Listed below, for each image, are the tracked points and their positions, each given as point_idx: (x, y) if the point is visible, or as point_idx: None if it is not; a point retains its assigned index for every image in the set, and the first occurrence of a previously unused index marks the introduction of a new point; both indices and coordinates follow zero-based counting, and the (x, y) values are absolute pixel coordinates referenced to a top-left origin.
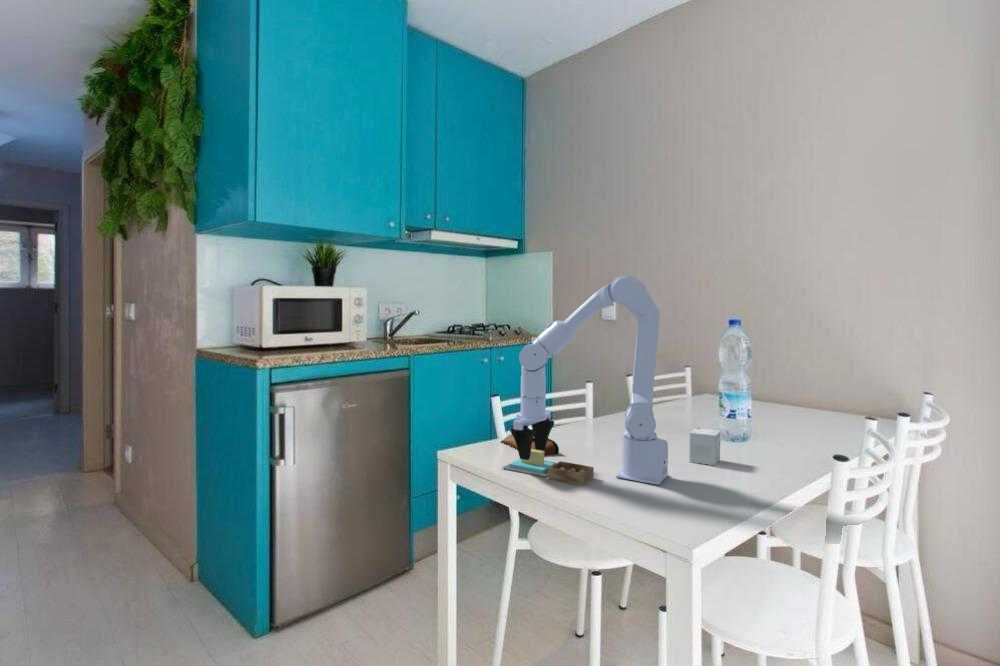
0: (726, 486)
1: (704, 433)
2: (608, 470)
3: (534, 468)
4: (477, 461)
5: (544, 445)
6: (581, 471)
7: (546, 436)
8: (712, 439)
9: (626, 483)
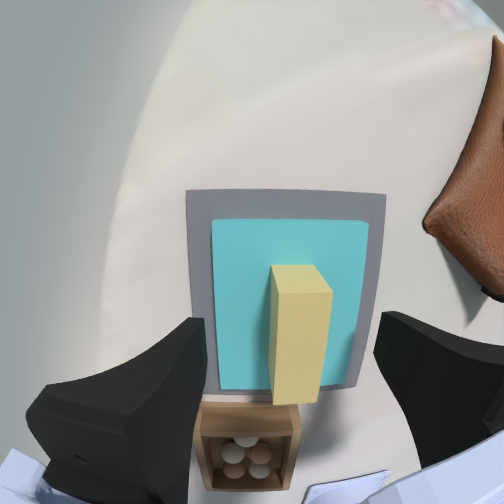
0: None
1: None
2: (364, 459)
3: (218, 357)
4: (231, 27)
5: (385, 379)
6: (253, 475)
7: (407, 421)
8: None
9: (284, 498)
